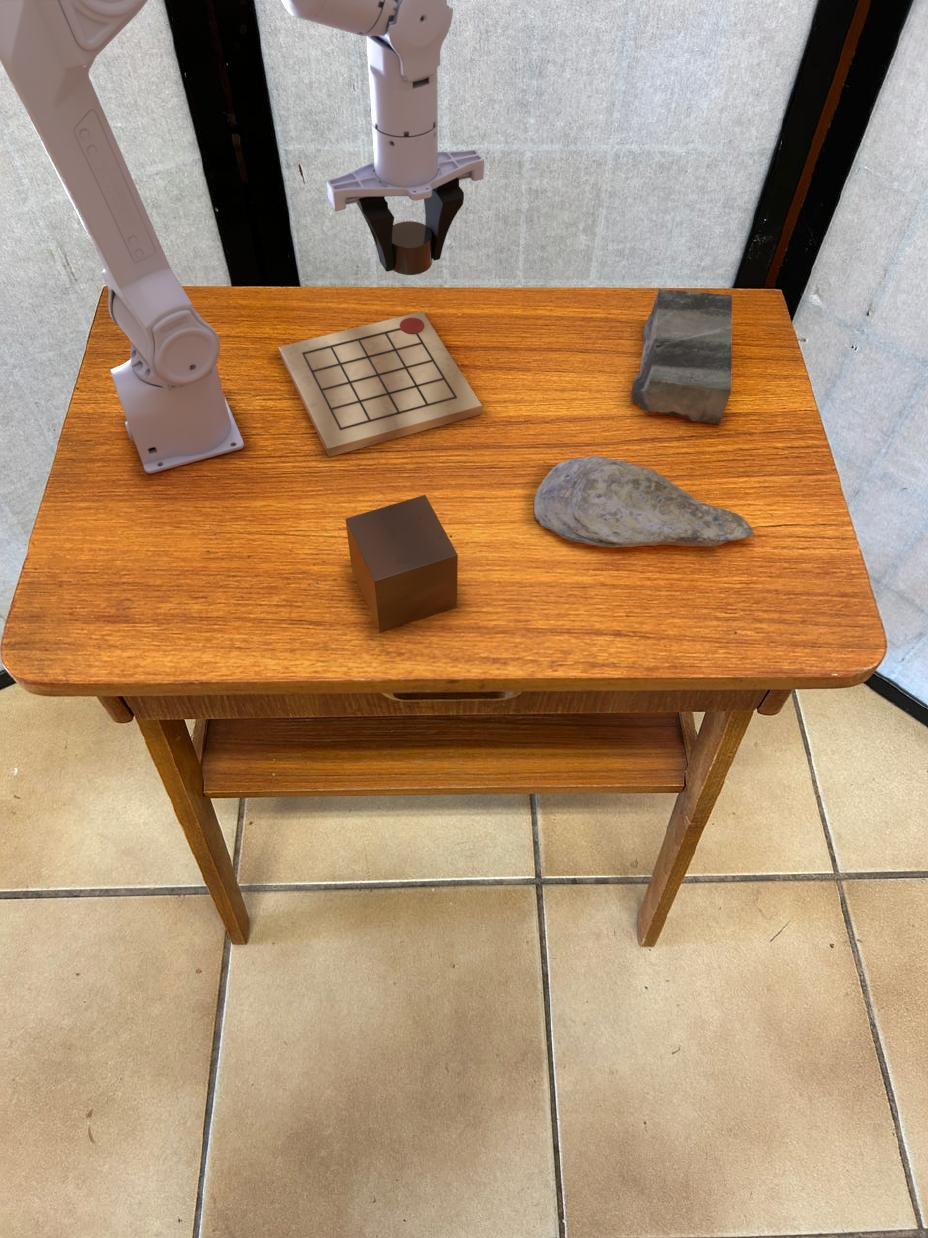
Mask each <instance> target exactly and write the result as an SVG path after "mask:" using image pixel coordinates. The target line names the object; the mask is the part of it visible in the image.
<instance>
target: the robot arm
mask: <svg viewBox="0 0 928 1238" xmlns="http://www.w3.org/2000/svg"><path fill="white" fill-rule="evenodd" d="M147 2H148V0H0V62H1V64H2V66H3V69H4V71H5V73H6V75H7V76H8V79H9V81H10V83H11V85H12V87H13V88H14V91H15V93H16V94H17V97H18V99H19V100H20V103H21V104H22V107H23V109H24V111H25V113H26V114H27V117H28V119H29V121H30V122H31V125H32V127H33V129H34V131H35V133H36V135H37V137H38V139H39V141H40V143H41V145H42V147H43V149H44V151H45V153H46V155H47V157H48V159H49V161H50V163H51V165H52V167H53V169H54V171H55V173H56V175H57V177H58V179H59V182H60V183H61V185H62V186H63V189H64V191H65V193H66V195H67V197H68V199H69V201H70V203H71V204H72V207H73V209H74V211H75V213H76V215H77V217H78V219H79V221H80V223H81V225H82V227H83V229H84V231H85V233H86V235H87V237H88V239H89V241H90V243H91V245H92V247H93V249H94V251H95V253H96V255H97V258H98V259H99V261H100V263H101V265H102V267H103V269H102V271H101V275H102V277H103V279H104V281H105V283H106V286H107V290H108V298H107V299H108V301H107V307H108V312H109V317H111V320H112V321H113V323H115V325H116V326H117V327H118V328H119V329H120V330H121V331H122V332H123V333H124V334H125V335H126V337H127V338H128V339H129V341H130V351H129V354H130V359H129V360H128V361H126V362H124V363H122V364H120V365H118V366H116V367H113V368H111V369H109V371H110V375H111V378H112V381H113V384H114V387H115V390H116V392H117V393H116V394H117V396H118V399H119V403H120V405H121V407H122V410H123V415H124V416H125V417H124V418H125V419H126V421H125V422H124V425H125V429H126V431H127V435H128V438H129V441H130V442H134V444H135V447H136V449H137V452H138V455H139V458H140V461H141V463H142V467H143V470H144V472H145V473H146V474H154V473H155V474H156V473H158V472H159V473H160V472H162V471H165V470H170V469H173V468H177V467H180V466H183V465H187V464H191V463H195V462H199V461H203V460H206V459H210V458H213V457H217V456H220V455H221V456H222V455H225V454H227V453H231V452H235V451H239V450H241V449H243V448H244V447H245V443H244V440H243V437H242V435H241V432H240V430H239V427H238V425H237V423H236V420H235V418H234V415H233V413H232V410H231V408H230V406H229V403H228V400H227V398H226V396H225V393H224V389H223V385H222V382H221V378H220V373H219V370H218V369H219V368H218V366H217V362H218V359H219V357H220V353H221V342H220V338H219V335H218V333H217V332H216V330H215V329H214V328H213V326H211V325H210V324H209V323H208V322H206V320H204V319H203V317H202V316H200V314H199V312H197V310H196V309H195V307H194V304H193V303H192V300H191V299H190V297H189V296H188V294H187V293H186V291H185V289H184V287H183V286H182V284H181V283H180V280H179V279H178V277H177V276H176V274H175V272H174V271H173V269H172V268H171V266H170V264H169V260H168V258H167V256H166V254H165V252H164V249H163V246H162V245H161V243H160V239H159V237H158V235H157V233H156V230H155V227H154V226H153V224H152V221H151V219H150V216H149V214H148V212H147V210H146V207H145V205H144V202H143V200H142V197H141V196H140V194H139V193H140V192H139V191H138V188H137V186H136V184H135V182H134V179H133V177H132V175H131V172H130V170H129V167H128V165H127V163H126V160H125V158H124V155H123V154H122V153H123V152H122V150H121V148H120V147H119V144H118V142H117V139H116V136H115V134H114V132H113V130H112V128H111V126H110V123H109V121H108V118H107V116H106V113H105V111H104V109H103V107H102V104H101V102H100V100H99V97H98V95H97V93H96V89H95V88H94V85H93V83H92V81H91V78H90V75H89V74H90V70H91V68H92V66H93V65H94V62H95V61H96V58H97V56H98V55H99V54H100V53H101V52H102V51H103V50H104V49H105V48H106V47H107V46H108V45H109V44H111V42H112V41H113V40H114V39H115V38H116V37H117V36H118V35H119V34H120V33H121V32H122V31H123V30H124V28H125V27H126V26H127V25H128V24H129V23H130V22H131V21H132V20H133V19H134V18H135V17H136V16H137V15H138V14H139V13H140V12H141V10H142V9H143V8H144V6H145V5H146V3H147ZM447 2H448V0H281V3H282V4H283V6H284V8H285V9H286V11H287V12H288V13H289V14H290V15H291V16H292V17H295V18H298V19H301V20H305V21H307V22H312V23H316V24H319V25H322V26H325V27H330V28H332V29H336V30H340V31H343V32H347V33H350V34H353V35H357V36H360V37H366V51H367V53H366V55H367V69H368V84H369V99H370V115H371V132H372V134H371V135H372V150H373V161H372V162H370V163H368V164H365V165H363V166H361V167H359V168H357V169H355V170H352V171H349V172H348V173H346V174H343V175H341V176H338V177H334V178H330V179H327V180H326V188H327V189H326V190H327V196H328V201H329V204H330V205H331V207H332V208H333V210H334V212H338V211H344V210H346V209H347V205H351V204H356V205H357V207H358V209H359V210H360V213H361V214H362V216H363V218H364V220H365V223H366V225H368V229H369V230H370V233H371V236H372V238H373V241H374V244H375V248H376V251H377V256H378V261H379V263H380V265H381V266H382V268H383V270H384V271H385V272H386V273H388V272H392V271H393V265H394V261H393V251H392V230H393V225H394V222H395V216H394V214H393V213H392V212H391V210H390V208H389V203H388V201H387V199H385V197H408V198H409V199H410V200H411V201H416V202H417V201H420V200H423V204H424V214H425V223H424V225H426V226H427V227H429V228H430V230H431V232H432V257H433V262H434V261H439V260H441V256H442V253H443V248H444V244H445V241H446V238H447V235H448V232H449V230H450V227H451V225H452V223H453V221H454V219H455V217H456V216H457V214H458V212H459V211H460V209H462V206H463V205H464V201H465V193H464V191H463V189H462V188H461V187H460V181H463V180H467V179H470V180H471V181H473V182H477V181H481V180H484V175H485V158H484V157H482V155H481V154H480V153H479V151H478V150H477V149H476V148H475V149H468V150H459V151H457V150H456V151H439V134H438V133H439V128H438V123H439V121H438V119H439V117H438V116H439V111H438V108H439V107H438V99H439V98H438V94H439V93H438V67H439V66H441V49H442V47H443V44H444V42H445V39H446V37H447V36H448V33H449V31H450V28H451V26H452V20H453V14H454V8H453V7H452V6H450V5H449V4H448V3H447ZM393 272H394V271H393Z"/></svg>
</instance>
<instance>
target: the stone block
mask: <svg viewBox="0 0 928 1238" xmlns="http://www.w3.org/2000/svg"><path fill="white" fill-rule="evenodd" d="M732 324H733V295H732V294H725V293H724V294H723V293H712V292H703V291H702V292H701V291H691V290H689V291H688V290H674V289H673V290H672V289H663V288H662V289H660V288H659V289H658V290H657V293H656V297H655V300H654V303H653V307H652V309H651V311H650V314H649V316H648V318H647V320H646V322H645V324H644V326H643V330H642V345H641V347H642V348H641V351H642V353H641V360H640V366H639V373H638V374H637V375H635V377H634V379H633V383H632V389H631V402H633V403H635V404H637V405H638V406H639V407H640V409H641V410H642V411H644V412H646V413H650V414H651V413H653V414H659V415H665V416H670V417H678V418H681V419H686V420H689V421H692V422H697V423H698V422H699V423H705V424H714V425H720V423H721V421H722V418H723V416H724V413H725V410H726V407H727V404H728V402H729V398H730V395H731V392H732V369H733V368H732V366H733V364H732V355H733V353H732V351H733V350H732V349H733V325H732Z"/></svg>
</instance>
